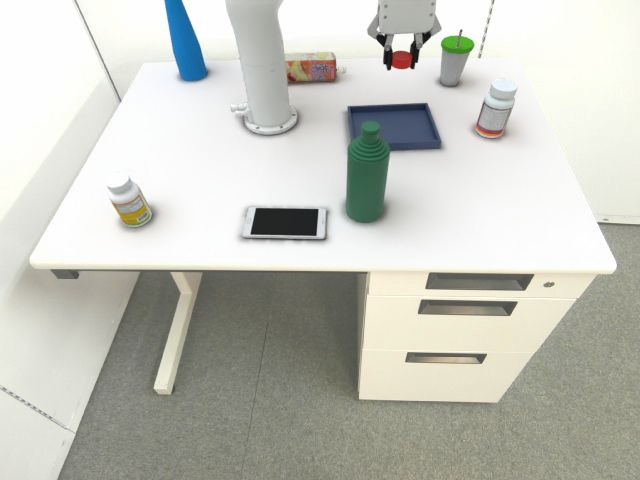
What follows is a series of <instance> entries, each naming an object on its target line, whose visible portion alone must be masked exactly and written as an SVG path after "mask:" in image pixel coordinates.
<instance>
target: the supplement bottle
mask: <svg viewBox="0 0 640 480" xmlns="http://www.w3.org/2000/svg"><path fill="white" fill-rule="evenodd" d="M105 186H106V187H107V189H108V192H107V196H108V199H109V201H110V203H111V204H112V206H113V208H114V210H115V211H116V213H117V214H118V216H119V218H120V219H121V221H122V222H123V224H124V225H125V226H126V227H129V228H138V227H142V226H144V225H146V224H147V223H148V222H150V220H151V218H152V215H153V213H152V209H151V207H150V206H149V202H148V201H147V199H146V197H145V195H144V194H143V191H142V190H141V188H140V186H139V184H138V183H137V182H135V181H133V180H132V179H131V177H130V175H129V174H128V173H127V172H124V171H120V172H119V171H118V172H115V173H112V174H110V175H109V176H108V177H107V178H106V179H105Z"/></svg>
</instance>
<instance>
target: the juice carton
mask: <svg viewBox="0 0 640 480" xmlns="http://www.w3.org/2000/svg"><path fill="white" fill-rule="evenodd" d="M284 53H285V52H284ZM285 63H286V73H287V83H293V82H295V83H296V82H319V81H321V82H325V81H326V82H327V81H328V82H332V81H333V82H334V81H335V80H336V79H337V59H336V55H335V52H333V51H322V52H320V51H319V52H289V53H285Z"/></svg>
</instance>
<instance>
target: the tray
mask: <svg viewBox="0 0 640 480" xmlns="http://www.w3.org/2000/svg"><path fill="white" fill-rule="evenodd" d="M346 114H347V123H348V131H349V139H350V143H351V142H352V141H353V140H354V139H355V138H357V137H359V136H361V126H362V124H363V123H364V122H367V121H374V122H377V123H378V124H379V126H380V132H379V137H381V138H382V139H383V140H385V141H386V142H387V143H388V145H389V147H390V152H391V151H413V150H438V149H440V148H441V144H442V139H441V136H440V134H439V131H438V128H437V125H436V123H435V120H434V116H433V114H432V111H431V109H430V106H429V104H428V102H414V103H413V102H412V103H411V102H410V103H392V104H391V103H388V104H386V103H385V104H366V105H365V104H364V105H347V106H346Z"/></svg>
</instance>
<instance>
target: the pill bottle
mask: <svg viewBox="0 0 640 480" xmlns="http://www.w3.org/2000/svg"><path fill="white" fill-rule="evenodd" d="M518 88H519V87H518V83H516V82H515V81H513V80H511V79H508V78H496V79H494V80H493V81H492V82H491V84H490V88H489V91H488V92H487V93H486V94H485V96H484V98H483V102H482V105H481V107H480V111H479V115H478V118H477V121H476V124H475V132H476V133H477V134H478V135H480V136H481V137H483V138H486V139H496V138H499V137H502V135H503V134H504V132H505V129H506V127H507V125H508V121H509V119H510V117H511V114H512V110H513V108H514V106H515V103H516V98H515V96H516V93H517V90H518Z"/></svg>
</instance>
